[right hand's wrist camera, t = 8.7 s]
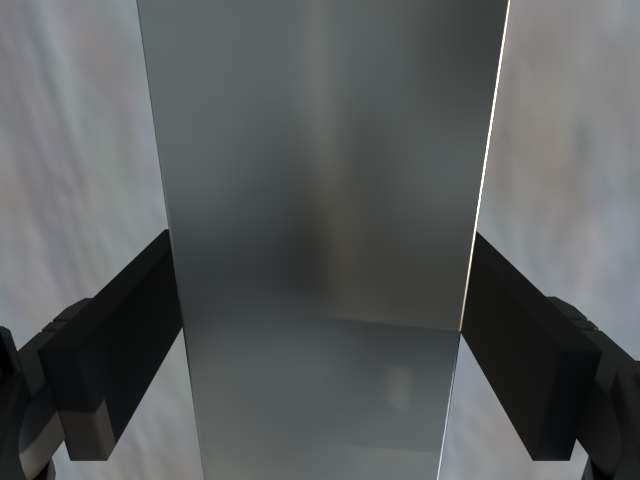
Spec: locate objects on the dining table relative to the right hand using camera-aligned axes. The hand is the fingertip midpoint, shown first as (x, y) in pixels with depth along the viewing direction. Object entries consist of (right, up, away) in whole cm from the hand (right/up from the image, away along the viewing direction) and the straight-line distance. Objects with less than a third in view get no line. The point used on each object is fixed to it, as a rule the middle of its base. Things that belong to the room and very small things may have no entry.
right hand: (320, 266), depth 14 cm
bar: (0, +8, -2) cm, 8 cm away
